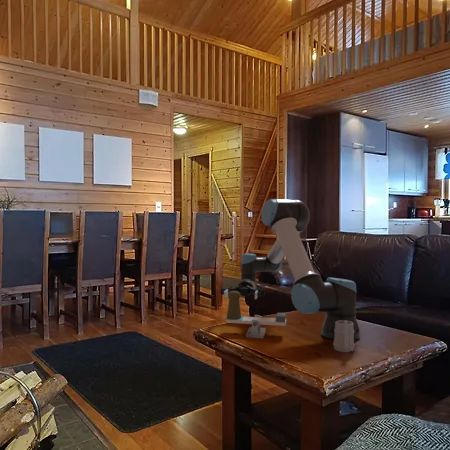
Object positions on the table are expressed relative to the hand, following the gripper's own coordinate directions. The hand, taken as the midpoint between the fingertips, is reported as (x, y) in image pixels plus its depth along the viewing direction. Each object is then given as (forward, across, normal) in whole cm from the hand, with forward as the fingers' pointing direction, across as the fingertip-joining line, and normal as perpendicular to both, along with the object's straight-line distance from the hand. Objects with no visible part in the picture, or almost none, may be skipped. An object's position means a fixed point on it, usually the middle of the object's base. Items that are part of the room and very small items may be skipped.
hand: (240, 295), depth 186 cm
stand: (+10, -8, -14) cm, 19 cm away
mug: (+26, -42, -14) cm, 51 cm away
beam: (+11, -8, -8) cm, 16 cm away
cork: (+10, +1, -8) cm, 13 cm away
